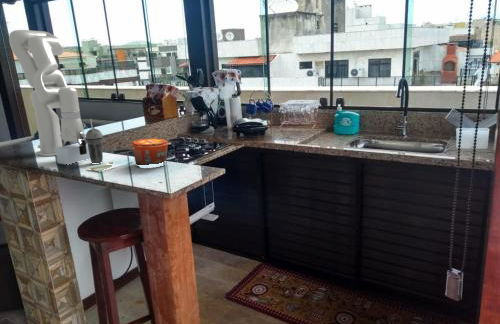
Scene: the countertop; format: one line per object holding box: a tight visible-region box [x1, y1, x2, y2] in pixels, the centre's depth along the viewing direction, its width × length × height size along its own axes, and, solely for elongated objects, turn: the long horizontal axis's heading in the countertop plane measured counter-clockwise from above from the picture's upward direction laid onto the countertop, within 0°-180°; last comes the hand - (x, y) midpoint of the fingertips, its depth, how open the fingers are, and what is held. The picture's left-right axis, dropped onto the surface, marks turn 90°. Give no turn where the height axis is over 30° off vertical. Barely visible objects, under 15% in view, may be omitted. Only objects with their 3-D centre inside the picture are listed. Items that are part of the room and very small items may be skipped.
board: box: [86, 160, 114, 171], centre depth 158 cm, size 8×18×1 cm, turn 153°
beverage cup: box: [85, 118, 104, 164], centre depth 161 cm, size 7×7×20 cm
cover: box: [55, 141, 90, 166], centre depth 167 cm, size 7×14×7 cm, turn 153°
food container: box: [130, 137, 170, 165], centre depth 160 cm, size 16×16×11 cm
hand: (76, 153), depth 167 cm, fingers open, 9 cm apart
